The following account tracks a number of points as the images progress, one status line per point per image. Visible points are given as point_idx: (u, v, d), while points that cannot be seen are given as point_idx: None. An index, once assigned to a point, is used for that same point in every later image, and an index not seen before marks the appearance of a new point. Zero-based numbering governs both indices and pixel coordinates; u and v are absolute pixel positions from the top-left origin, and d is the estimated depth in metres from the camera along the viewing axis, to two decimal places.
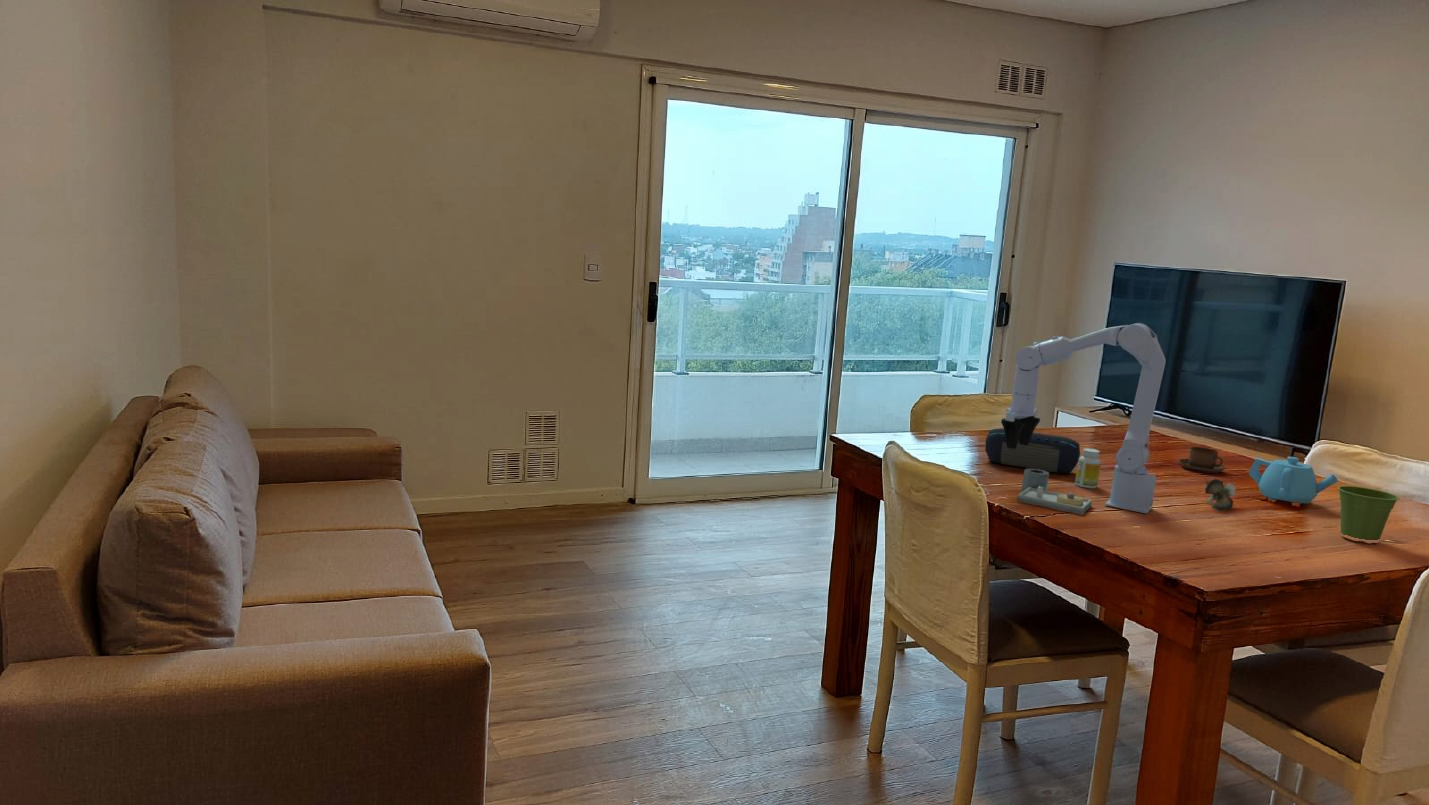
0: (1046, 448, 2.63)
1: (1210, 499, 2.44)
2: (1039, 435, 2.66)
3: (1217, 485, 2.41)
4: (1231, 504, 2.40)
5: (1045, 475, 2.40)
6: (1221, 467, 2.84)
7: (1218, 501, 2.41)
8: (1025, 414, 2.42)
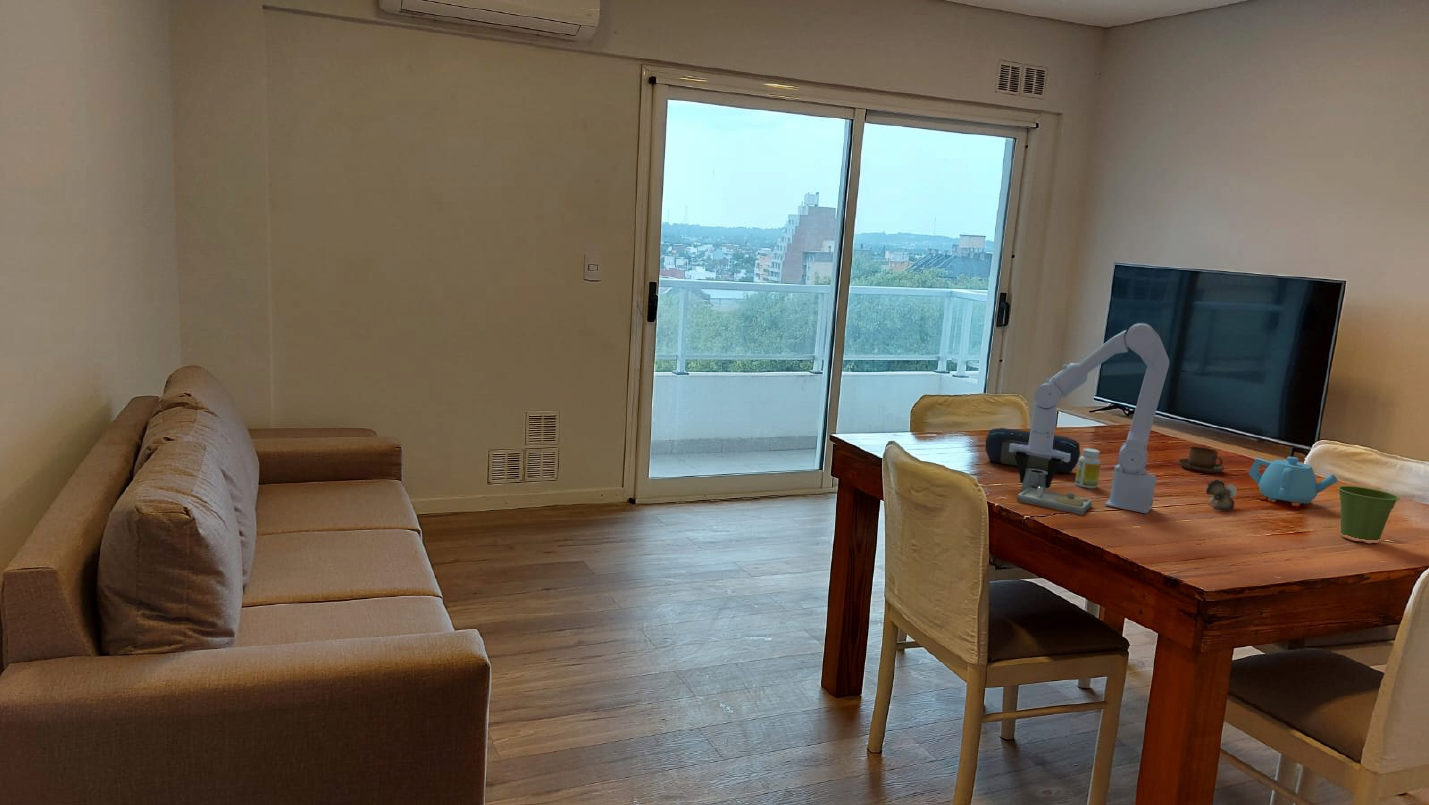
0: None
1: (1211, 500, 2.43)
2: None
3: (1218, 486, 2.40)
4: (1232, 505, 2.39)
5: (1045, 475, 2.40)
6: (1221, 467, 2.84)
7: (1219, 502, 2.40)
8: (1025, 449, 2.42)
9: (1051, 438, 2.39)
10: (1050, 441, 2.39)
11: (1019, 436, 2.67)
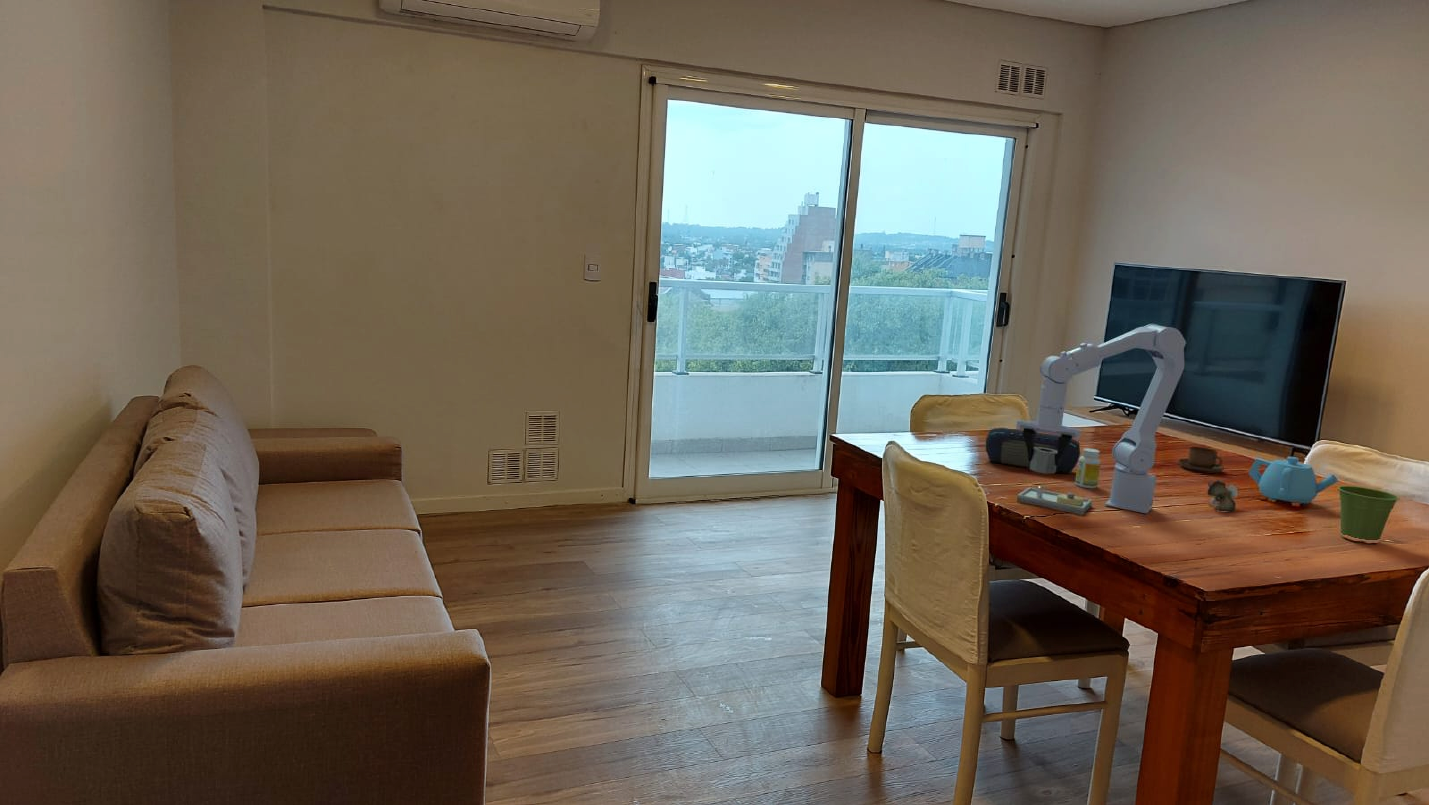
0: (1046, 447, 2.64)
1: (1212, 501, 2.42)
2: (1039, 434, 2.67)
3: (1219, 487, 2.39)
4: (1233, 506, 2.38)
5: (1055, 454, 2.30)
6: (1220, 467, 2.84)
7: (1220, 503, 2.39)
8: (1034, 425, 2.31)
9: (1061, 413, 2.28)
10: (1060, 416, 2.28)
11: (1019, 436, 2.68)
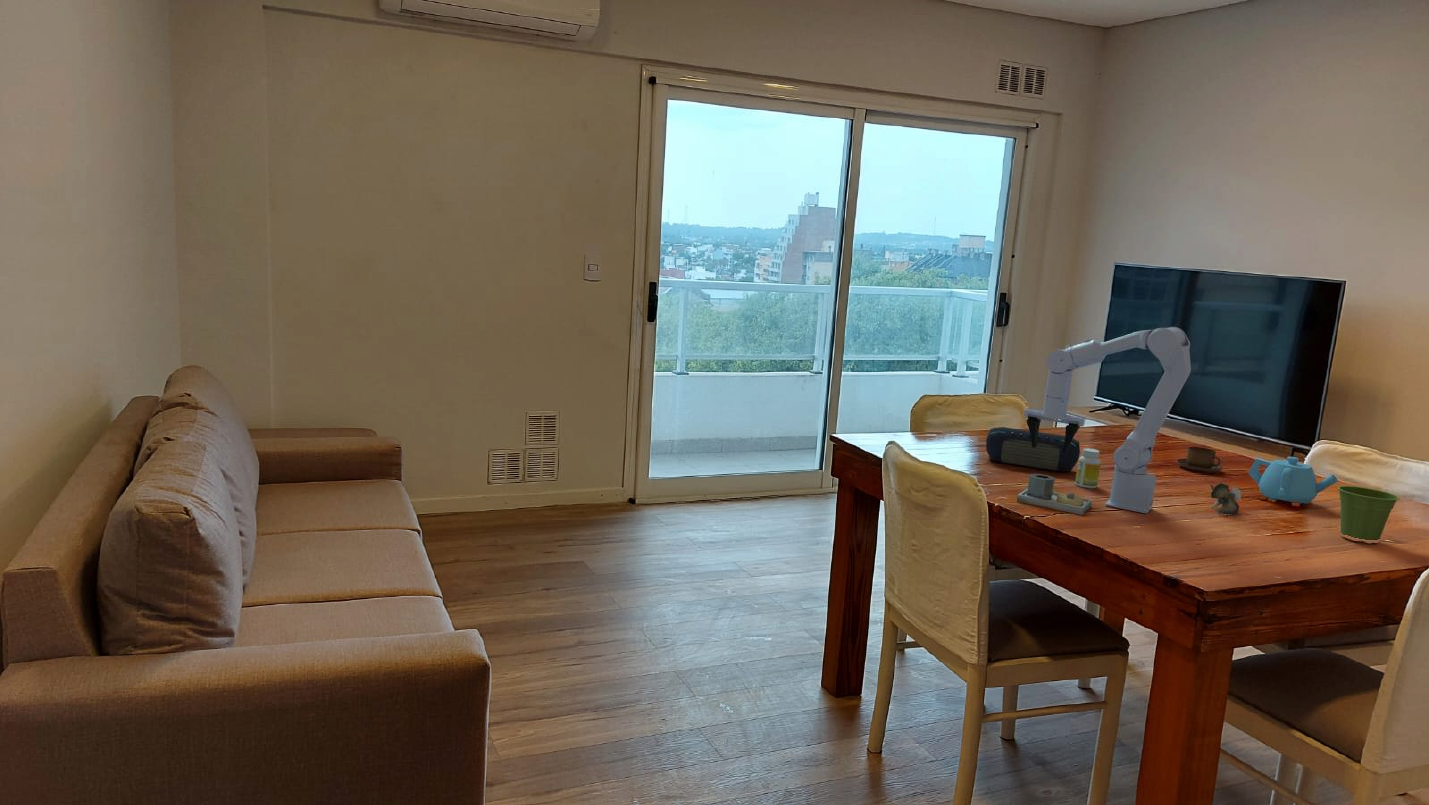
0: (1046, 447, 2.65)
1: (1215, 503, 2.40)
2: (1039, 434, 2.68)
3: (1223, 489, 2.37)
4: (1237, 509, 2.36)
5: (1052, 480, 2.31)
6: (1219, 467, 2.84)
7: (1223, 505, 2.37)
8: (1040, 414, 2.45)
9: (1065, 403, 2.42)
10: (1065, 405, 2.42)
11: (1019, 435, 2.69)
